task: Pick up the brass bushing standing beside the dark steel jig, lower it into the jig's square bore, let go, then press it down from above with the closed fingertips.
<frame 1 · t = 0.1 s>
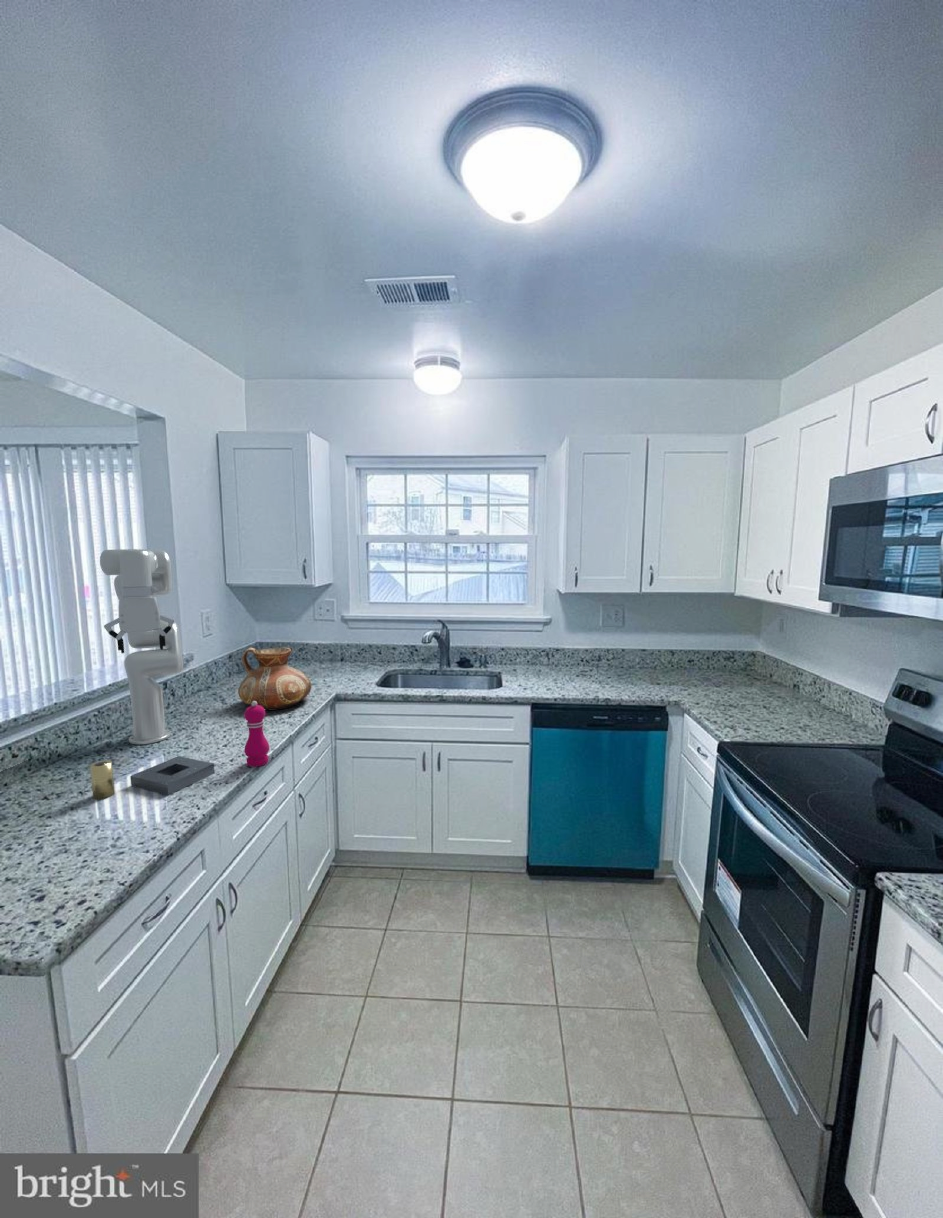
hand: (142, 650, 150), 37 cm above the worktop, tool pointing down, fingers open, 9 cm apart
jig: (173, 779, 149), on the worktop
pepper mill: (257, 763, 160), on the worktop
jug: (277, 704, 222), on the worktop
bushing: (104, 795, 140), on the worktop
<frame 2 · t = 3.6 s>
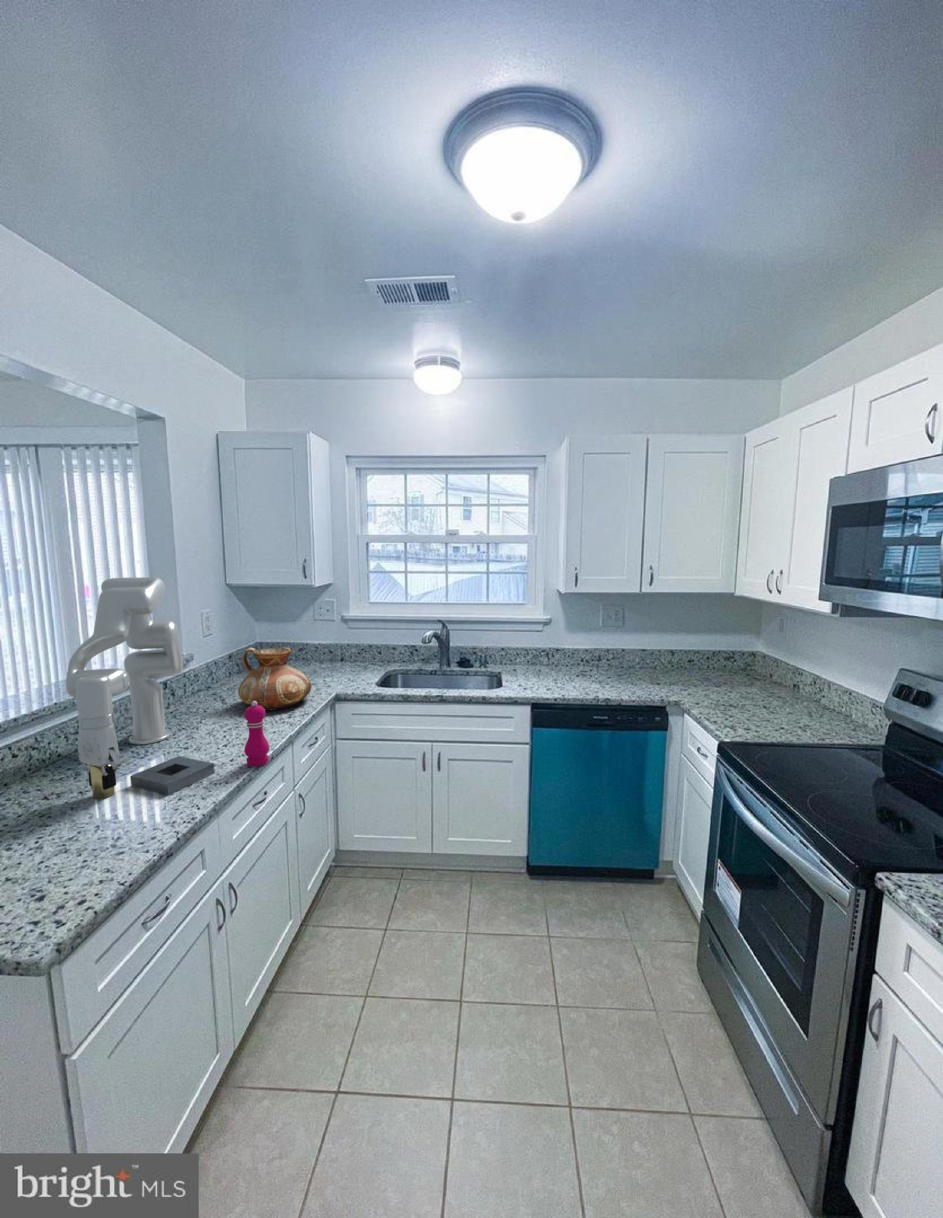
hand: (102, 785, 139), 3 cm above the worktop, tool pointing down, fingers closed on bushing, 4 cm apart
bushing: (103, 795, 140), on the worktop, touching gripper
everything else where it was.
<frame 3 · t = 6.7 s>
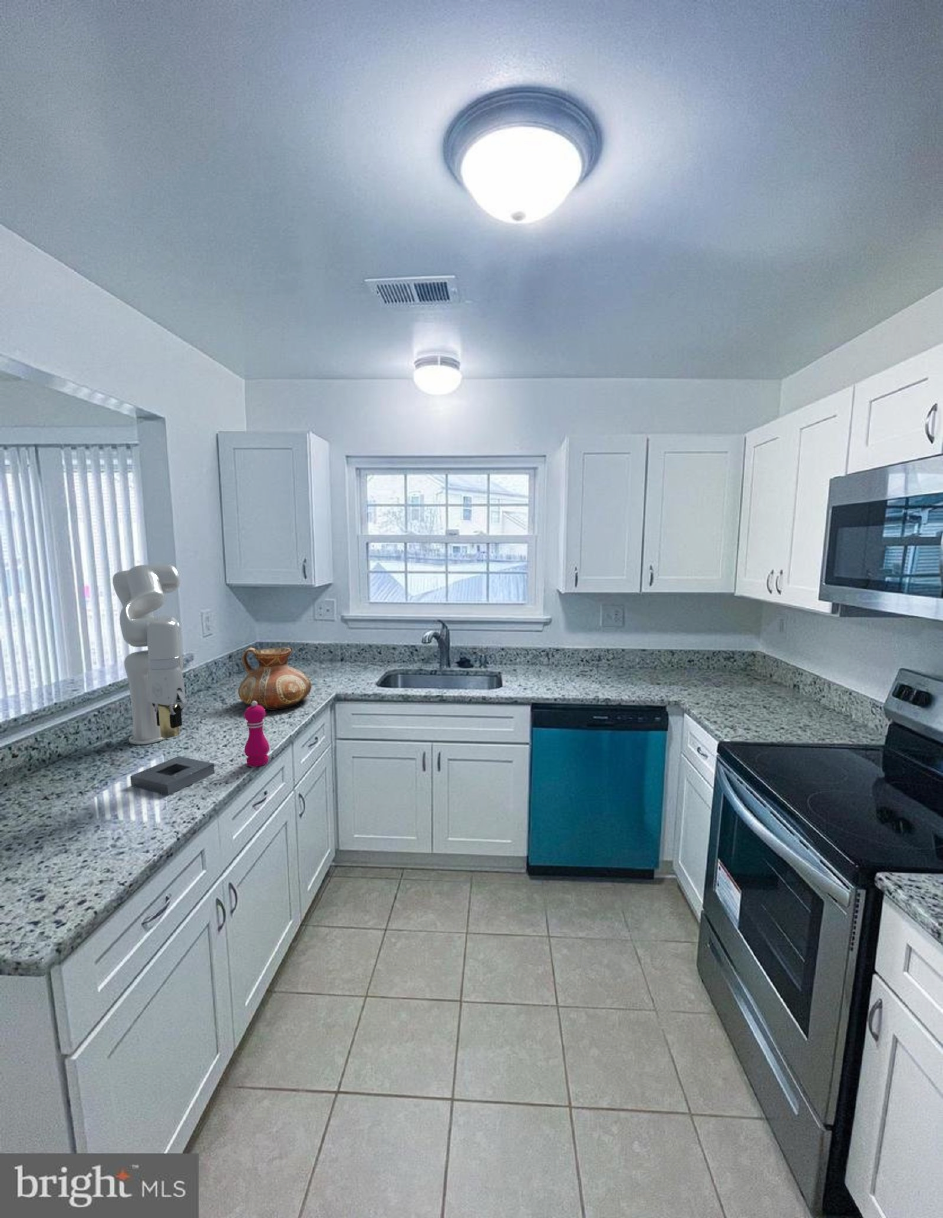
hand: (169, 724, 147), 16 cm above the worktop, tool pointing down, fingers closed on bushing, 4 cm apart
bushing: (170, 734, 147), point 14 cm above the worktop, touching gripper
everything else where it was.
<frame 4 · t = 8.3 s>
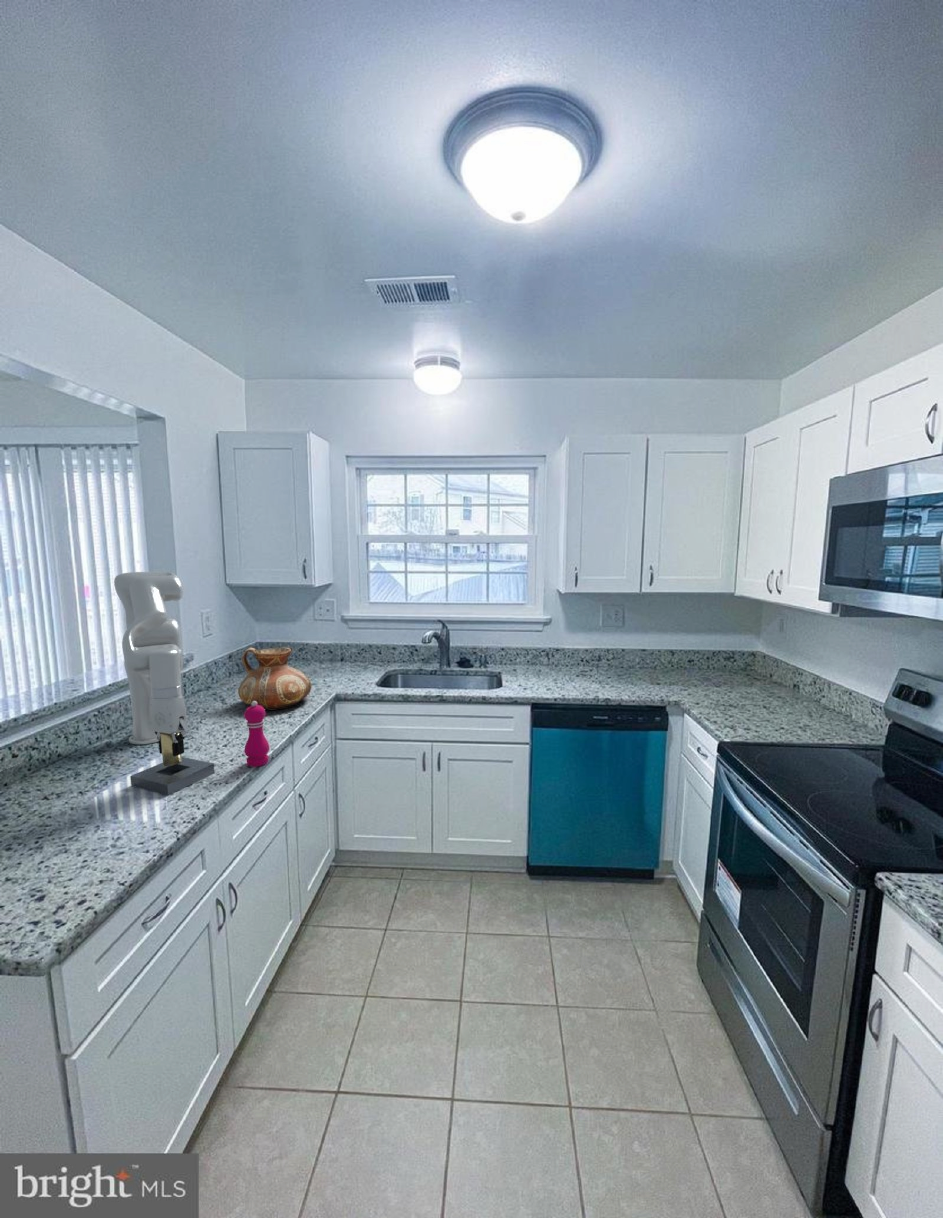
hand: (171, 752, 148), 8 cm above the worktop, tool pointing down, fingers closed on bushing, 4 cm apart
bushing: (172, 762, 148), point 5 cm above the worktop, touching gripper
everything else where it was.
when the fingers open (4 cm above the worktop, at t = 9.8 s): bushing stays where it is, resting in jig.
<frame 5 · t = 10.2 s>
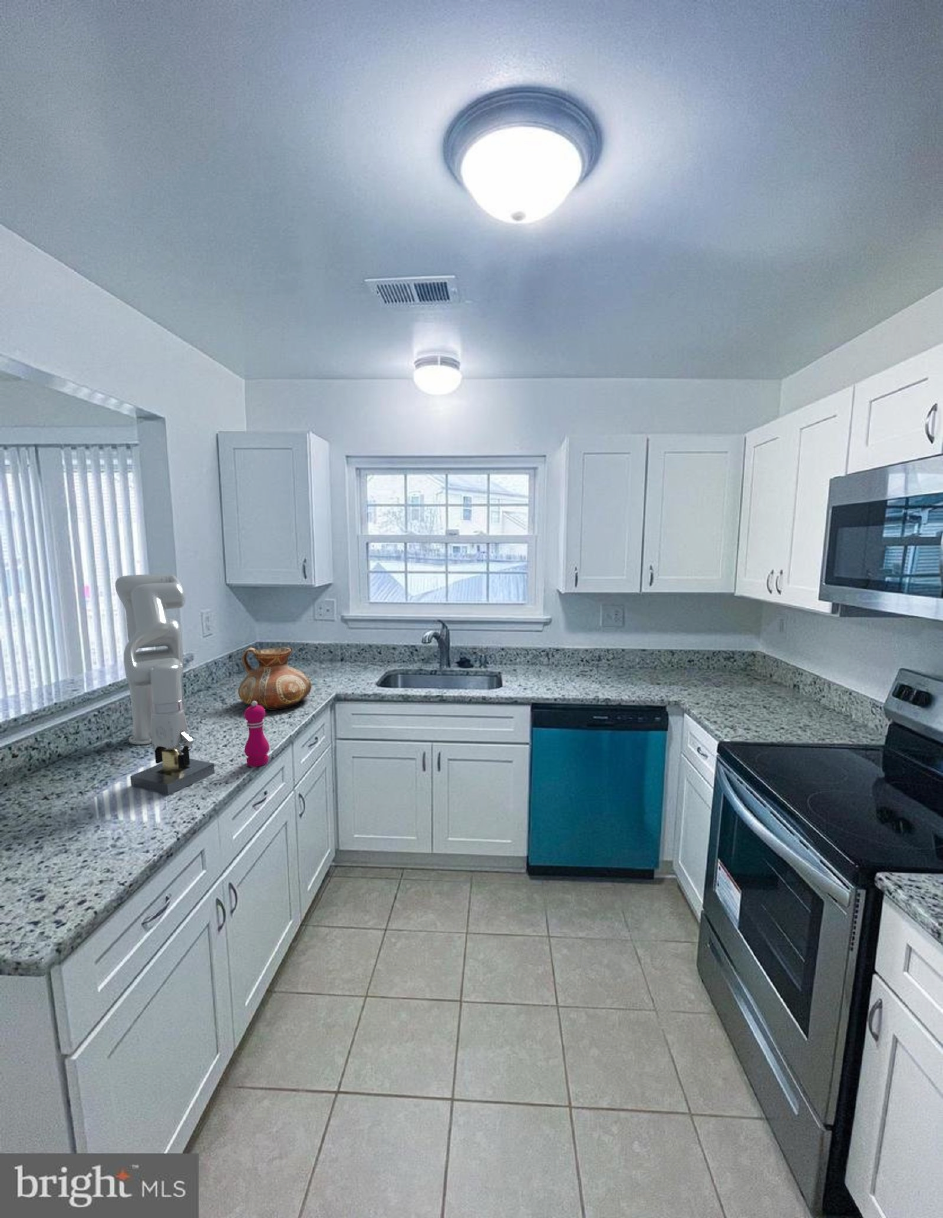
hand: (172, 763, 148), 5 cm above the worktop, tool pointing down, fingers open, 9 cm apart
bushing: (173, 779, 149), resting in jig
everything else where it was.
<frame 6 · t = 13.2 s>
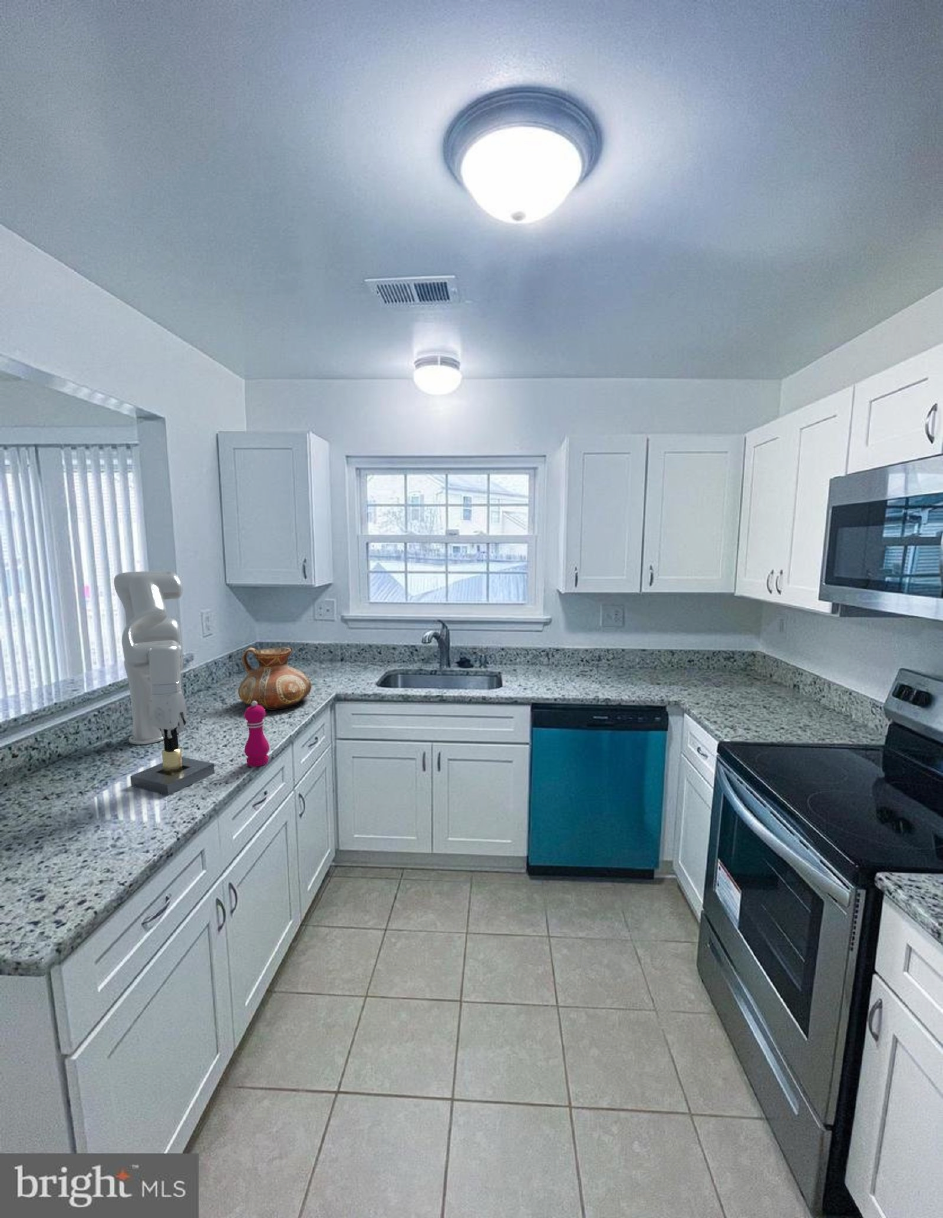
hand: (171, 749, 148), 9 cm above the worktop, tool pointing down, fingers closed
bushing: (173, 779, 149), resting in jig, touching gripper
everything else where it was.
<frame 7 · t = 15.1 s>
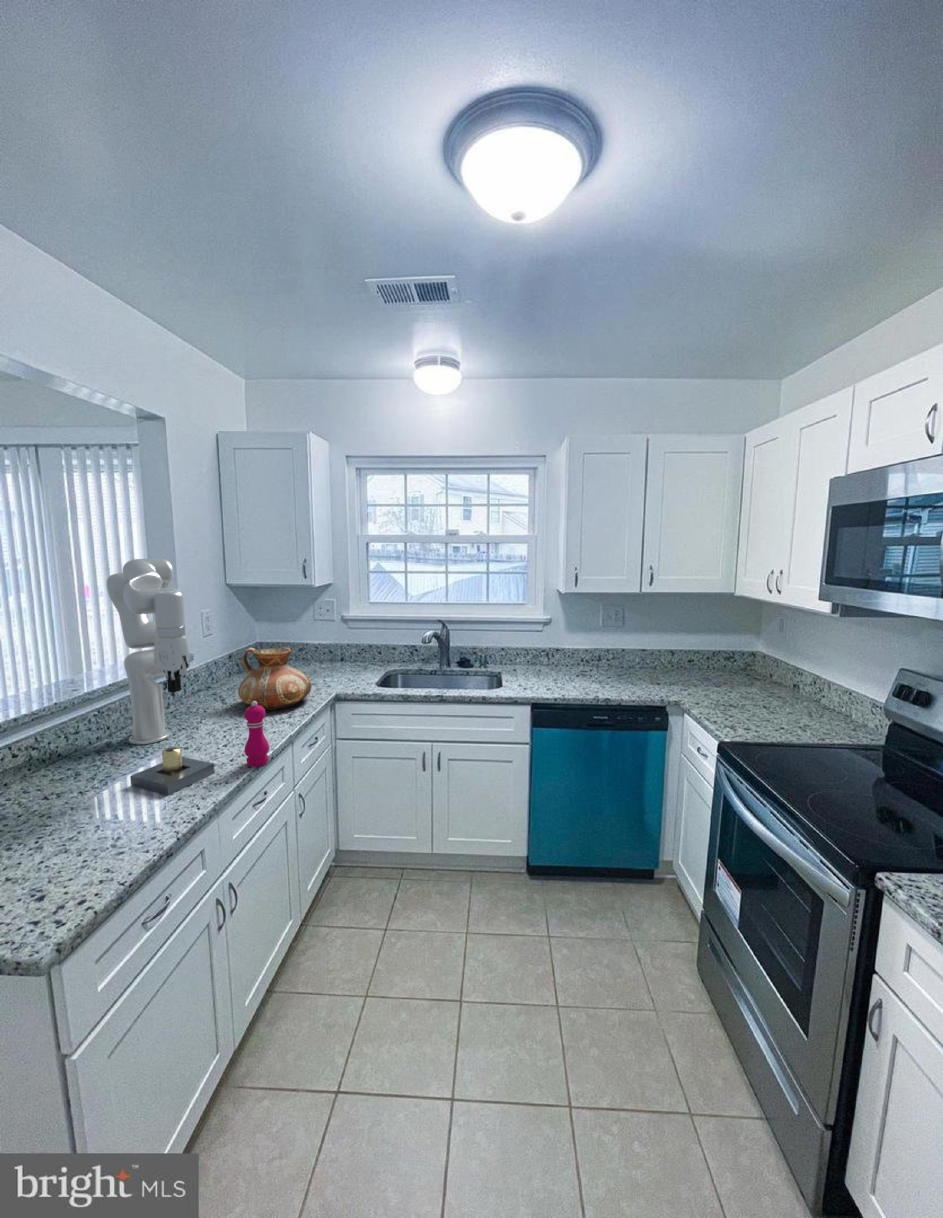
hand: (174, 691, 156), 24 cm above the worktop, tool pointing down, fingers closed
bushing: (173, 779, 149), resting in jig
everything else where it was.
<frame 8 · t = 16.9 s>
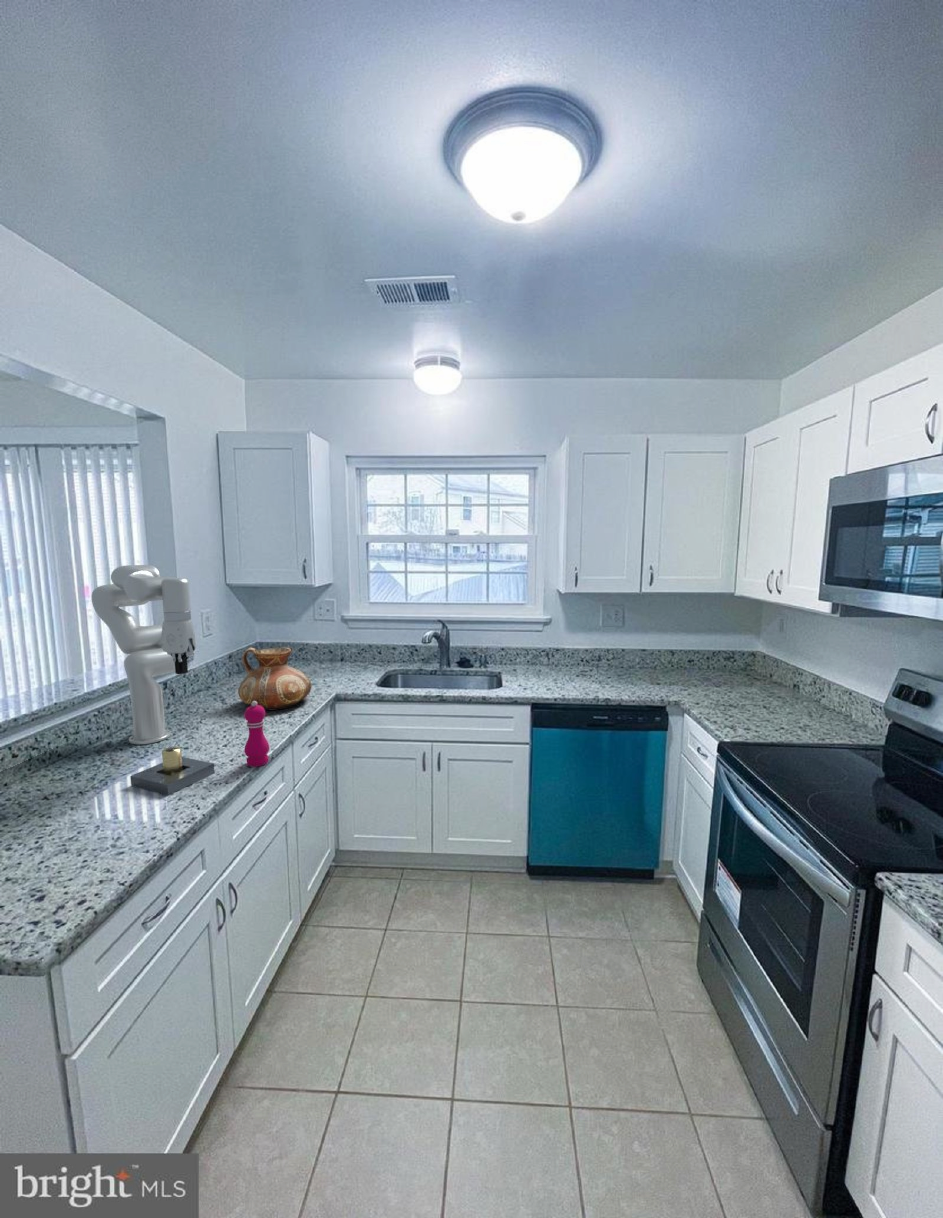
hand: (181, 673, 165), 27 cm above the worktop, tool pointing down, fingers closed
nothing on the worktop moved.
at the end: bushing 0.1 cm off-centre on the jig, point 0.0 cm above the jig's base; bushing tilted 0°; the gripper is holding nothing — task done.
